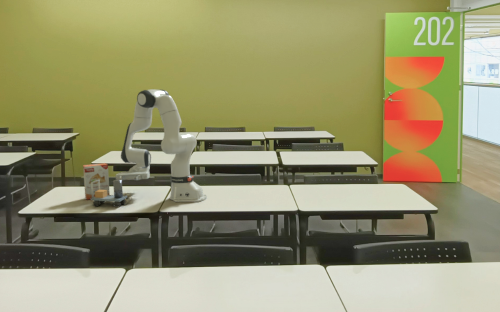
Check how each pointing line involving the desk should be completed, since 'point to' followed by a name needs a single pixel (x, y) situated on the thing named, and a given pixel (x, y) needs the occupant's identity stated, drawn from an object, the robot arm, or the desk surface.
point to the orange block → (100, 193)
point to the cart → (108, 198)
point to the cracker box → (95, 178)
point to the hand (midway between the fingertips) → (128, 179)
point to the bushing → (118, 189)
